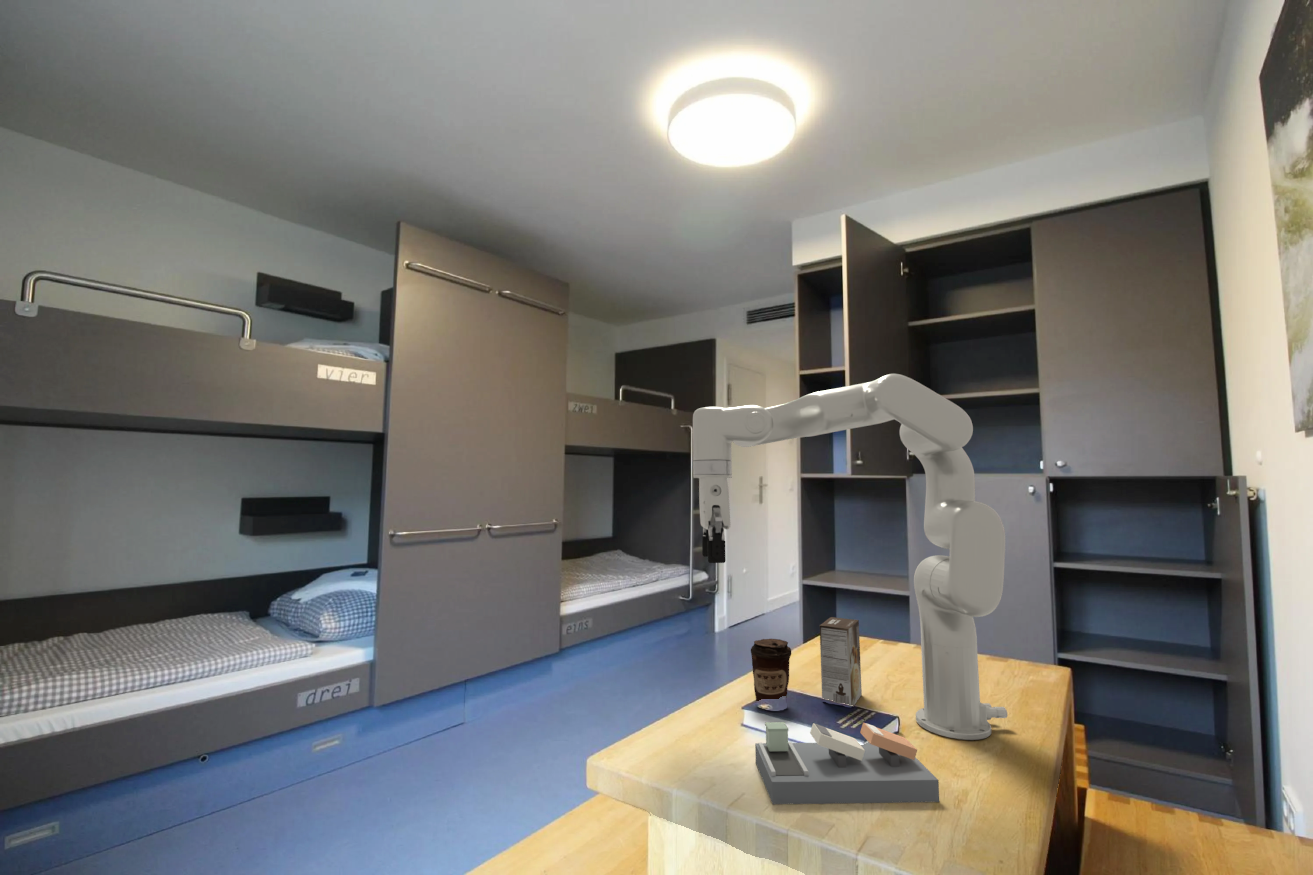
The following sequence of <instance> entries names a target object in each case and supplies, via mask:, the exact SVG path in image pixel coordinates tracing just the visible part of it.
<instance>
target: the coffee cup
mask: <svg viewBox="0 0 1313 875" xmlns="http://www.w3.org/2000/svg"><path fill="white" fill-rule="evenodd" d="M753 642H754V643H753V645H752V646H751V648H750V654H751V663H752V664H751V666H752V674H753V686H754V696H755V702H756V701H759V700H761V699H779V698H780V697H782V696H786V697H787V695H788V686H789V683H790V682H789V680H790V659H791V656H792V649H791V647H790V646H788V644H789V642H788V641H787V640H782V639H777V638H762V639H758V640H754V641H753Z"/></svg>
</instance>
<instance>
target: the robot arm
mask: <svg viewBox="0 0 1313 875" xmlns="http://www.w3.org/2000/svg"><path fill="white" fill-rule="evenodd" d="M894 420H895V421H896V422H899V424H900V427H899V437H900V441H901V443H902V445H904V447H905V448H906V449H907V450H908V451H910V452H911V453H912V454H913V455H914V456H915V457H916V458H917V459H918V460H919V461H920V463H921V465H922V467H923V469H924V473H925V484H926V485H925V501H924V519H923V531H924V534H925V537H926V538H927V539H928V541H929V542H930V543H932V544H933V545H934V546H937V547H940V548H942V549H946V550H949V555H942V554H939V555H937V554H936V555H931V556H928V557H926V558H924V559H923V560H921V561H920V563H919V564H918V565H917V567H916V569H915V571H914V576H913V586H914V587H913V588H914V592H915V598H916V603H917V608H918V612H919V613H918V614H919V624H920V626H919V628H920V644H921V645H920V647H921V648H920V649H921V668H922V670H921V671H922V672H921V673H922V688H923V689H922V690H923V691H922V692H923V708H920V709H918V710H917V711H916V712H915V721H916V722H917V724H919V726H920V727H921V728H923V729H925V730H927V731H929V732H931V733H934V734H935V735H939V736H941V737H942V736H943V737H946V738H950V739H956V740H963V741H964V740H966V741H974V740H975V741H977V740H985V739H986V738H989V736H991V734H992V726H991V724H990V722H989V721H990V720H991V719H992V718H994V719H1007V718H1008V711H1007V709H1006V707H1005V706H992V705H991V703H989V702H988V703H984V702H982V701H981V693H980V692H981V691H980V680H979V679H980V676H979V658H978V637H977V628H976V624H975V619H974V618H979V617H980V618H981V617H985V616H987V615H990V614H991V613H993V612H994V611H995V610H996V609H997V608H998V606H999V604H1000V602H1001V599H1002V596H1003V591H1004V590H1003V589H1004V581H1005V580H1004V579H1005V578H1004V577H1005V560H1006V559H1005V557H1006V532H1005V526H1004V523H1003V521H1002V518H1001V516H1000V515H999V513H998V512H997V511H996V510H995V509H994V508H993V507H991V506H990V505H988V504H986V503H983V502H981V501H976V490H975V489H976V487H975V486H976V485H975V484H976V482H975V481H976V478H975V471H974V466H973V463H972V461H971V459H970V457H969V456H968V454H967V452H966V451H965V450H964V448H963V447H965V446H966V445H967V444H968V443H969V442H970V440H971V439H972V436H973V433H974V432H973V431H974V426H973V423H972V419H971V417H970V416H969V415H968V413H967V412H966V411H965V410H964V409H963V408H962V407H960V406H959V405H957V404H956V403H954V402H953V401H951V400H949V399H947V398H945V397H944V396H943V395H941V394H940V393H937V392H935V391H934V390H932V389H931V388H929V387H927V386H925V385H924V384H922V383H920V382H918V381H916V380H914V379H913V378H911V377H908V376H906V375H903V374H899V373H889V374H886V375H882V376H881V377H879V378H877V379H875V380H872V381H868V382H862V383H858V384H857V383H856V384H852V385H847V386H842V387H841V386H840V387H836V388H831V389H826V390H820V391H819V390H818V391H815V392H814V391H813V392H812V393H808V394H806V395H803V396H801V397H799V398H797V399H794V400H791V401H788V402H786V403H783V404H778V405H774V406H769V407H764V406H762V405H761V406H760V405H756V404H748V405H741V406H733V407H722V406H705V407H700V408H697V409H696V410H694V412H693V414H692V456H693V457H692V462H693V463H692V466H693V468H692V472H693V473H692V474H693V477H692V478H693V479H698V481H699V482H698V483H699V486H698V488H699V490H698V491H699V492H698V497H699V498H698V500H699V502H698V503H699V504H698V506H699V522H700V526H701V527H702V536H701V543H702V544H701V545H702V546H701V547H702V548H701V549H702V550H701V551H702V556H703V558H704V557H705V558H706V557H707V562H708V563H709V564H724V563H726V539H725V537H726V536H725V530H729V529H730V528H731V509H730V491H729V482H728V480H729V479H731V478H732V477H733V476H732V474H733V473H732V472H733V471H732V470H733V465H732V461H733V460H732V457H733V456H732V455H733V454H732V443H734V445H736V446H738V447H742V448H749V447H755V446H761V445H766V444H773V443H777V442H782V441H786V440H787V441H788V440H791V439H792V440H793V439H800V438H805V437H806V438H807V437H815V436H820V435H825V434H831V433H834V432H842V431H846V430H851V429H856V428H857V429H858V428H863V427H867V426H873V425H879V424H882V423H883V424H884V423H887V422H890V421H894Z"/></svg>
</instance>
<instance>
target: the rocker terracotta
mask: <svg viewBox="0 0 1313 875" xmlns="http://www.w3.org/2000/svg"><path fill="white" fill-rule="evenodd" d="M860 734H861V735H862V737H863V738H864V739H865V740H866V742H869V743H870V744H872V745H874V746H877V747H880V748H883V749H885V750H888V751H891V752H893V753H896V754H899V755H902V756H904V757H907V758H910V759H912V760H915V757H916V756H917V752H918V749H917V748H916V747H915V746H914V745H913V744H912V743H911V742H910V741H909V740H908V739H907V738H906V737H903V736H901V735H898V734H896V733H893V732H890V731H887V730H885V729H882V728H879V727H878V726H877V727H876V725H872V724H869V723H865V722H862V725H861V729H860Z"/></svg>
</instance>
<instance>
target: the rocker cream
mask: <svg viewBox="0 0 1313 875" xmlns="http://www.w3.org/2000/svg"><path fill="white" fill-rule="evenodd" d="M809 733H810V735H811V737H812V738H813V739H814V741H815V743H817V744H818V745H820V746H823V747H826V748H828V749H831V750H834V751H837V752H839V753H842V754H845V755H847V756H850V757H853V758H856V759H858V760H861V761H862V758H863V755H864V752H865V750H864V749H863V747H862V746H861V745H860V744H859V743H858V742H859V741H858V740H857V739H856V738H855V737H852V736H850V735H847V734H844V733H841V732H838V731H836V730H833V729H830V728H828V727H825V726H823V725H821V724H818V723H812V725H811V729H810V732H809Z"/></svg>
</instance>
